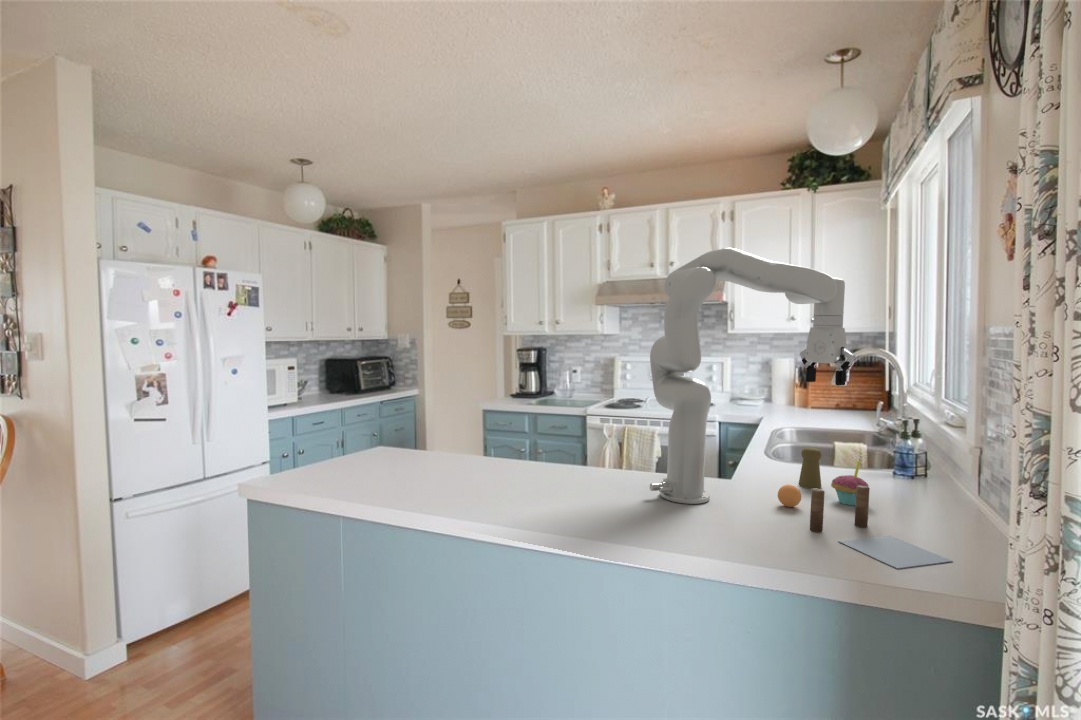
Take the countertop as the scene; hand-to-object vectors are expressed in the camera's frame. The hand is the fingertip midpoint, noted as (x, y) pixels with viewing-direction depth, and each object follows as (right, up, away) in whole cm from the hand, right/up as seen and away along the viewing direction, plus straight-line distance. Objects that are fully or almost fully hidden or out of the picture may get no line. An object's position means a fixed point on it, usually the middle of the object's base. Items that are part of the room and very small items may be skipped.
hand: (825, 383), depth 161 cm
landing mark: (-9, -32, -45) cm, 56 cm away
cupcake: (0, -31, -12) cm, 33 cm away
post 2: (-7, -31, -30) cm, 44 cm away
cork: (-3, -30, +3) cm, 30 cm away
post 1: (-19, -31, -34) cm, 50 cm away
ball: (-17, -28, -17) cm, 37 cm away
